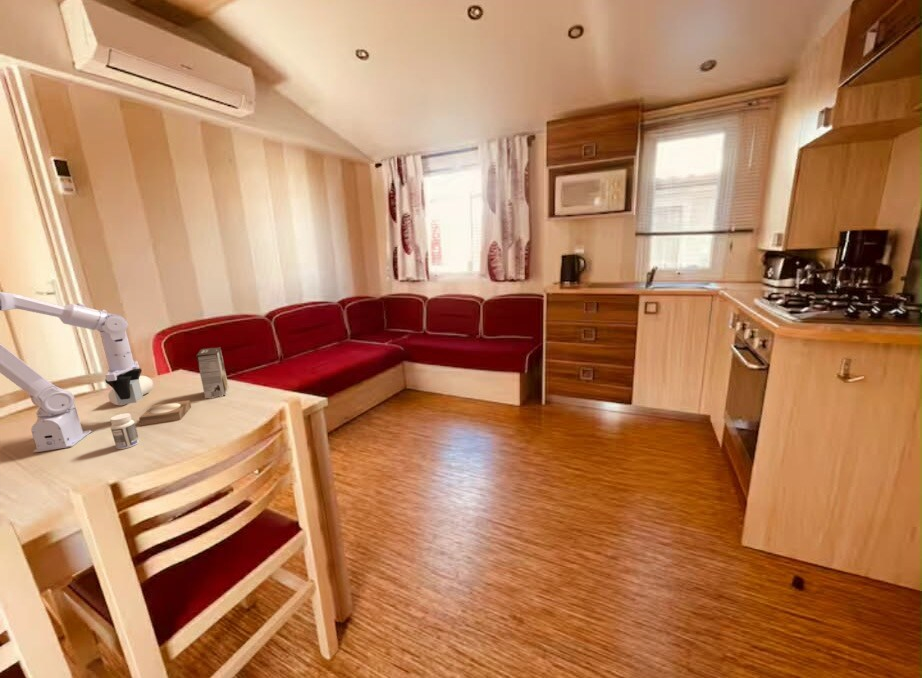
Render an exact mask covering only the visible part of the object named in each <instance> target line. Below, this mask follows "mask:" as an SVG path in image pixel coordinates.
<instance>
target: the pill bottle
mask: <svg viewBox="0 0 922 678" xmlns="http://www.w3.org/2000/svg"><path fill="white" fill-rule="evenodd" d="M110 423H111V425H110V431H111V434H112V438H113V441H114V444H115V447H116V449H118V450H125V449H126V450H127V449H128V448H132V447H135V446H137V445H138V444H139V443H140V438H139V434H138V430H137V426H136V423H135V421H134V420H133V419H132V415H131V414H130V413H128V412H125V413H120V414H119V413H118V414H117V415H114V416H112V417H111V418H110Z"/></svg>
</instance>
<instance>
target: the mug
mask: <svg viewBox="0 0 922 678" xmlns="http://www.w3.org/2000/svg"><path fill="white" fill-rule="evenodd" d="M139 383H140V387H141V391H142V395H143V396H144V395H145V394H146V395H147V394H148V393H150V392H151V391H152V390H153V389H154V381H153V380H152V378H150V377H148V376H146V375H140V377H139ZM108 399H109V401H110V402H111V404H113V405H116V406H125V405H126V404H121V405H118V402H117V398H116V395H115V391H114V389H113V388H112V389H111V390H110V391H109V393H108Z"/></svg>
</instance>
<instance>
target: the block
mask: <svg viewBox="0 0 922 678" xmlns="http://www.w3.org/2000/svg"><path fill="white" fill-rule="evenodd" d="M114 391H115V390H114ZM115 395H116V398H117V402H118V405H117V406H119V405H121V404H125V405H129V404H134V403H138V402H139V401H140V400H142V399H143V397H144V395H142V391H141V387H140V383H139V379H137V380H130V398H129V399H123V400H121V399H120V398H119V396H118V395H117V393H116V392H115ZM121 406H122V405H121Z"/></svg>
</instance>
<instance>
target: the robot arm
mask: <svg viewBox="0 0 922 678" xmlns="http://www.w3.org/2000/svg"><path fill="white" fill-rule="evenodd" d="M10 310H22V311H25V312H32V313H36V314H41V315H46V316H50V317H56V318H59V320H60V322H62V324H64V325H69V326H74V327H78V328H84V329H88V330H93V331H95V330H96V331H98V332H100V336H101V342H102V343H101V344H102V346H103V350H104V353H105V359H106V361H107V365H108V371H107V373H106V374H105V380H104V381H105V383H106V384H107V385H108V386H110V387H111V388H112V390H113V389H114V390H115V392H116V393H117V395H118V396H119V398H120V399H121V400H123V399H129V398H130V380H137V379H139V377H140V376H141V373H142V368H140V364H139V362H138V360H134V356H133V353H132V349H131V345H130V340H129V337H128V334H127V329H128V328H129V322H127V320H126V318H124V317H123V316H122V315H120V314H115V313H110V312H107V309H101V310H99V309H94V308H91V307H86V304H84V303H79V302H78V303H77V304H75V303H69V304H67V305H64V306H62V305H58V304H55V303H51V302H46V301H43V300H39V299H36V298H33V297H27V296H24V295H20V294H17V293H10V292H3V291H0V311H2V312H3V311H4V312H5V311H10ZM0 374H1V375H3V376H4V377H5V378H6V379H8V380H9V381H11V382H12V383H13V384H14V385H16V386H18V387H19V388H20V389H21V390H22V391H24V392H25V393H27V394H28V396H29V397H30V400H31V402H32V403H33V405H34V406H37V407H39V408H38V409H37V412H36V417H37V419H36V421H35V423H34V424H33V425H32V427H31V435H32V437H33V440H34V444H35V445H36V448H35V449H34V450H33V453H40V452H46V451H55V450H59V449H65V448H71V447H73V446H75V445H76V444H77V443H79V442H80V441H81V440H83V439H84V438H85V437H87V436H88V435H89V434H90V433H92V430H90V429H88V430H83V427H82V425H81V421H80V418H79V414H78V411H77V407H76V404H75V401H76V398H75V395H74V394H73V393H72V392H70V391H68V390H66V389H63V388H62V387H60V386H59V385H56V384H55V385H54V384H53V383H52V382H50V381H49V380H48V379H46V378H45V377H43V376H42V375H41V374H39V373H38V372H37V371H36V370H34V369H33V368H32V367H31V366H29V365H28V364H27V363H26V362H25V361H23V360H22V359H20V358H19V357H18V356H16V355H15V354H14V353H13V352H12V351H11V350H9V349H8V348H7V347H5V346H4V345H3V344H1V343H0Z"/></svg>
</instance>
